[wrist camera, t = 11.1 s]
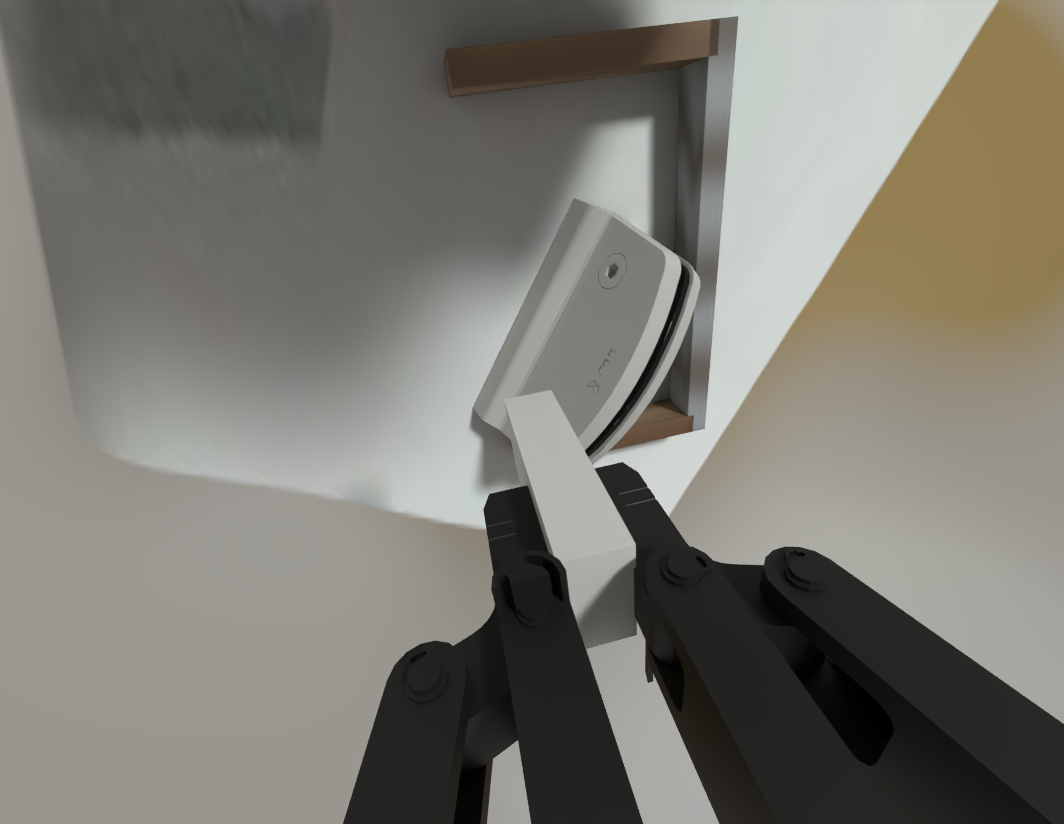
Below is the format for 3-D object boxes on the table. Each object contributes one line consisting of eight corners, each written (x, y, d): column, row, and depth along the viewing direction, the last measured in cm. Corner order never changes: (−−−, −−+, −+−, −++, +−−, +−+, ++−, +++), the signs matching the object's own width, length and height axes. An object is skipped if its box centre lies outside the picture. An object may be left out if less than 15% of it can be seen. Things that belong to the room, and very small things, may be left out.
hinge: (577, 191, 28) (694, 235, 21) (624, 222, 31) (739, 270, 24) (470, 412, 34) (535, 503, 27) (519, 420, 37) (588, 503, 30)
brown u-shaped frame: (443, 62, 24) (445, 49, 21) (706, 32, 25) (738, 16, 23) (512, 449, 36) (519, 470, 33) (685, 410, 38) (704, 428, 35)
